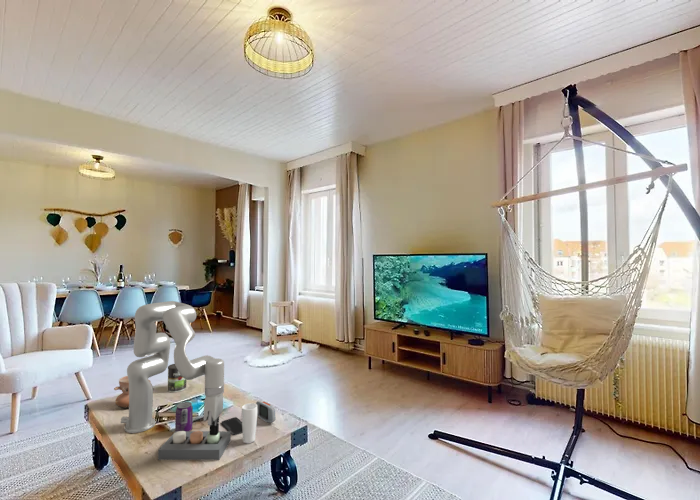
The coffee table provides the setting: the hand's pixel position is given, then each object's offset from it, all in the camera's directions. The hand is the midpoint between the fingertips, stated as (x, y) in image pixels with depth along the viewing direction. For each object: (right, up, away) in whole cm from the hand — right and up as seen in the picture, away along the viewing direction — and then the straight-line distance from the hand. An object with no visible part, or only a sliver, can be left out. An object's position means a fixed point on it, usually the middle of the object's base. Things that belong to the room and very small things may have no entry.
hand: (214, 433), depth 142 cm
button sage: (0, -4, 0) cm, 4 cm away
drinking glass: (+12, -7, +7) cm, 16 cm away
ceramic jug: (-60, -7, +42) cm, 74 cm away
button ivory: (-14, -4, 0) cm, 15 cm away
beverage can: (-20, -7, +15) cm, 26 cm away
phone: (+2, -8, +19) cm, 21 cm away
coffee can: (-47, -7, +62) cm, 78 cm away
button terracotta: (-7, -4, 0) cm, 8 cm away
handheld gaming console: (+15, -8, +27) cm, 31 cm away
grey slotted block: (-7, -7, 0) cm, 10 cm away
